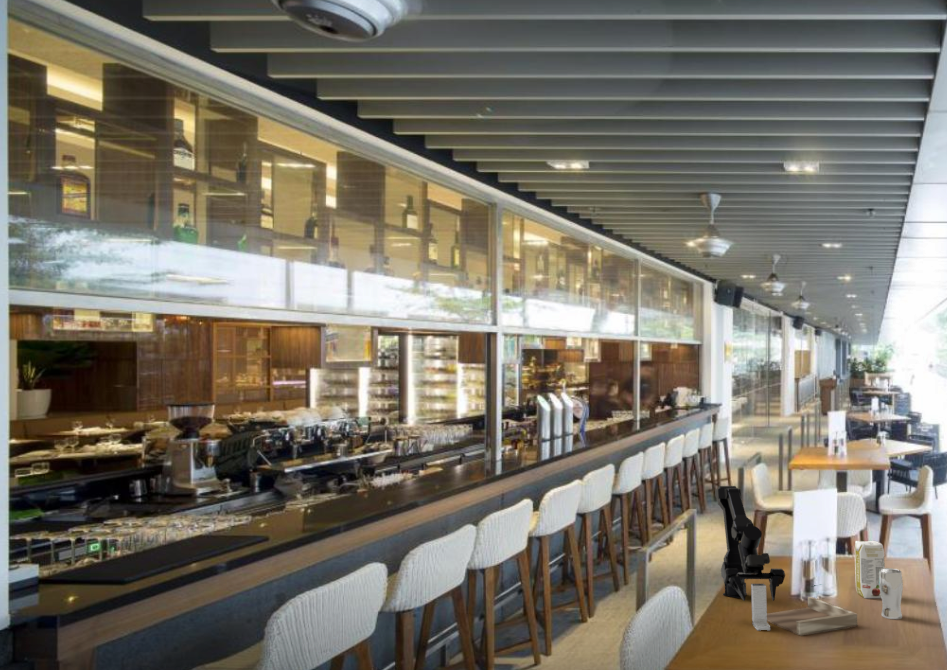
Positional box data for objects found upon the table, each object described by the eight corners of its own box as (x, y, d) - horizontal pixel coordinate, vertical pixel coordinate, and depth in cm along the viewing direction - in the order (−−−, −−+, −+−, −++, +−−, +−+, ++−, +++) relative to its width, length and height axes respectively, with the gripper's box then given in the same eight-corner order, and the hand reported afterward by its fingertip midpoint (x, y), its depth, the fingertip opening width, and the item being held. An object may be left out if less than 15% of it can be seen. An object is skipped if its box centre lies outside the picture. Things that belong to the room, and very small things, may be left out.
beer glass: (879, 618, 268) (878, 571, 268) (880, 612, 274) (878, 566, 274) (903, 621, 264) (902, 574, 265) (903, 614, 271) (902, 569, 271)
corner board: (757, 616, 271) (756, 604, 271) (811, 608, 279) (811, 596, 279) (800, 635, 252) (799, 622, 252) (857, 626, 260) (857, 613, 260)
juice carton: (887, 599, 288) (886, 544, 289) (863, 599, 288) (861, 544, 289) (877, 592, 296) (876, 539, 296) (853, 593, 296) (852, 540, 296)
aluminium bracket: (752, 624, 264) (751, 583, 264) (765, 624, 264) (763, 583, 264) (757, 630, 258) (756, 588, 258) (770, 630, 258) (769, 588, 258)
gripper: (724, 543, 269) (732, 586, 258) (782, 543, 268) (794, 587, 256) (719, 562, 277) (728, 604, 265) (776, 562, 275) (787, 605, 264)
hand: (759, 600), depth 262 cm, fingers open, 9 cm apart
